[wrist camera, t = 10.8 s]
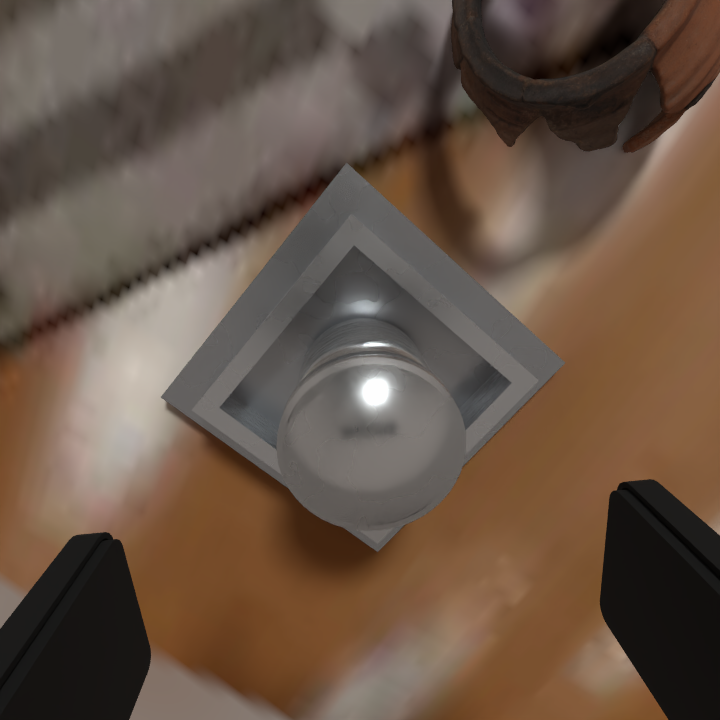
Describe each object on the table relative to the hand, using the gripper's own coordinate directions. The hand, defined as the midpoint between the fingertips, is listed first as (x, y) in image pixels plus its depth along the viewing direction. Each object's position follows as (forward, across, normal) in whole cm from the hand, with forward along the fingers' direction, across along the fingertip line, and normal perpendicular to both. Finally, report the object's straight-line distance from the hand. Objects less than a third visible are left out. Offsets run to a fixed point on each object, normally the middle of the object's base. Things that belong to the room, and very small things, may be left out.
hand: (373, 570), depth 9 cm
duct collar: (+14, -1, +1) cm, 14 cm away
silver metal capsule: (+13, 0, +1) cm, 13 cm away
